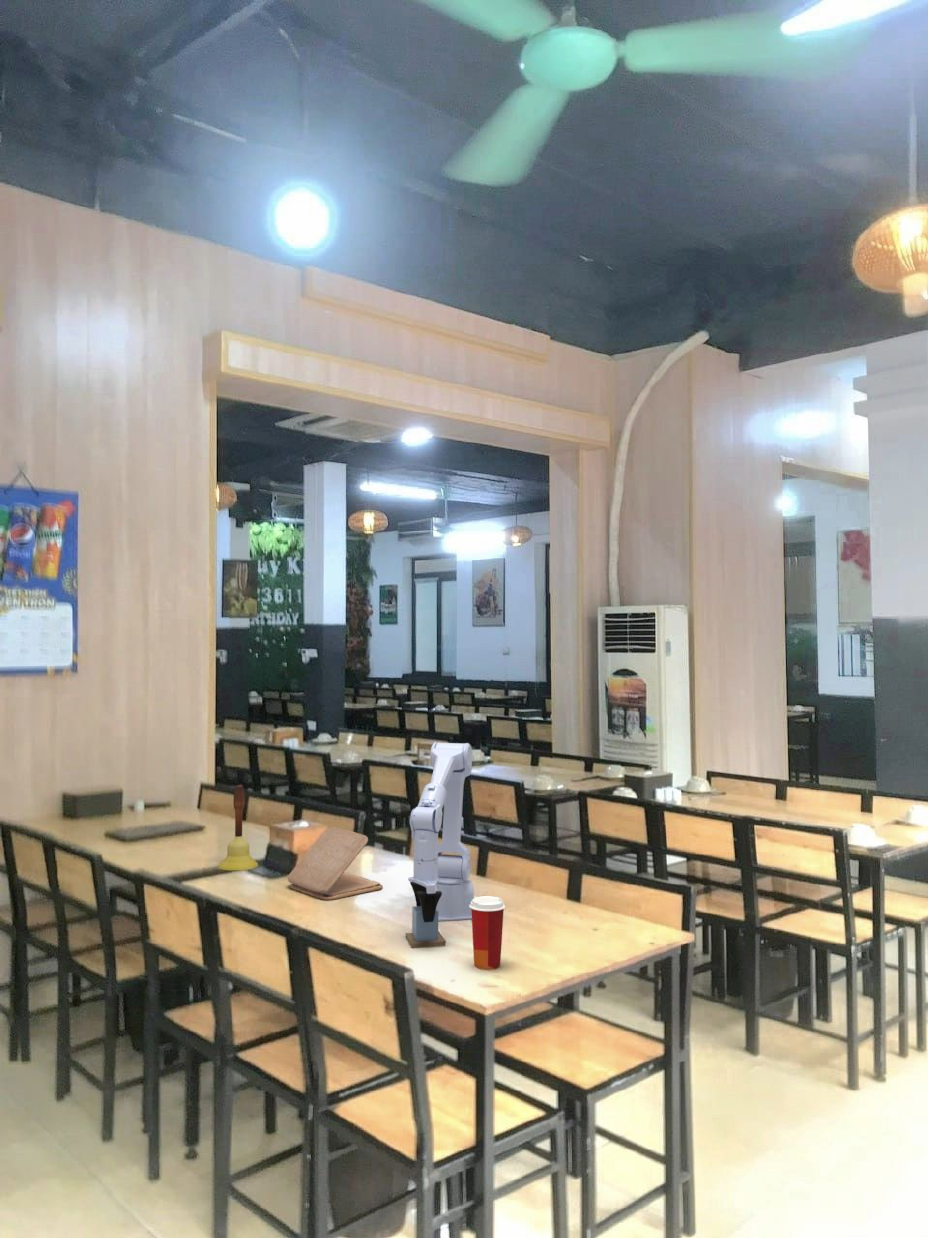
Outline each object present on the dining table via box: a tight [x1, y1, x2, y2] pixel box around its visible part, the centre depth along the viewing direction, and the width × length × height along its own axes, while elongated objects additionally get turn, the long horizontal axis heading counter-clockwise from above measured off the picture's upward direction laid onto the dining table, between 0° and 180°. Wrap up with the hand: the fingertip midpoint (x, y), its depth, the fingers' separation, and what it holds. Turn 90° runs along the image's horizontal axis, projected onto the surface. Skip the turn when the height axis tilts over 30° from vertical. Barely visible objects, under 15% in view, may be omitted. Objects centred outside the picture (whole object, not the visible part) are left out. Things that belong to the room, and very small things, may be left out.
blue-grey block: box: [411, 905, 439, 941], centre depth 224 cm, size 5×5×7 cm
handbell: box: [217, 784, 259, 871], centre depth 300 cm, size 12×12×25 cm
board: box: [405, 930, 447, 949], centre depth 224 cm, size 8×8×1 cm
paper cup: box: [469, 895, 506, 971], centre depth 208 cm, size 8×8×14 cm
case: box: [287, 826, 384, 901], centre depth 272 cm, size 20×21×16 cm
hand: (425, 917), depth 224 cm, fingers open, 7 cm apart
